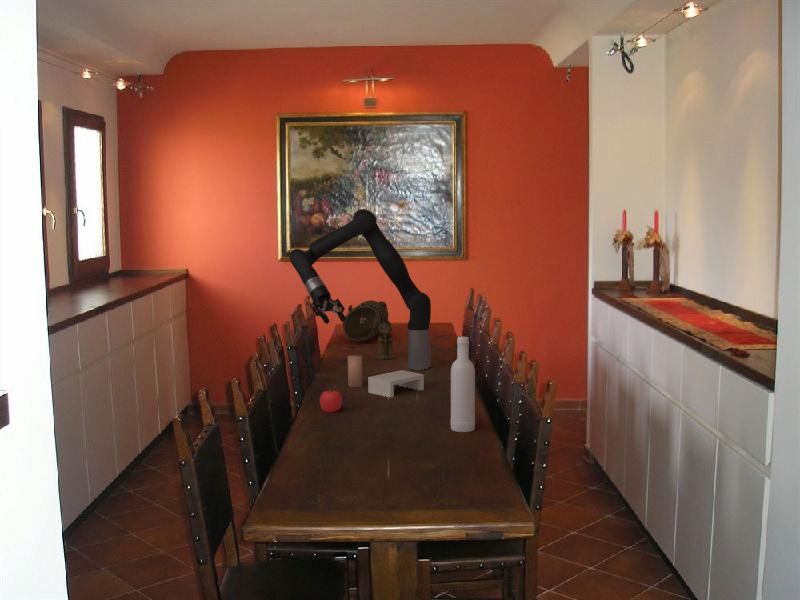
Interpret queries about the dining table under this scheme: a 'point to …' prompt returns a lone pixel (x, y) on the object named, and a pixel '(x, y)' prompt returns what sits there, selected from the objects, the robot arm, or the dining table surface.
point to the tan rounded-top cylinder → (355, 371)
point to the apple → (330, 401)
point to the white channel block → (394, 382)
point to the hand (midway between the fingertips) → (336, 321)
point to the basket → (365, 320)
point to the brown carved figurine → (385, 342)
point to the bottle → (462, 389)
